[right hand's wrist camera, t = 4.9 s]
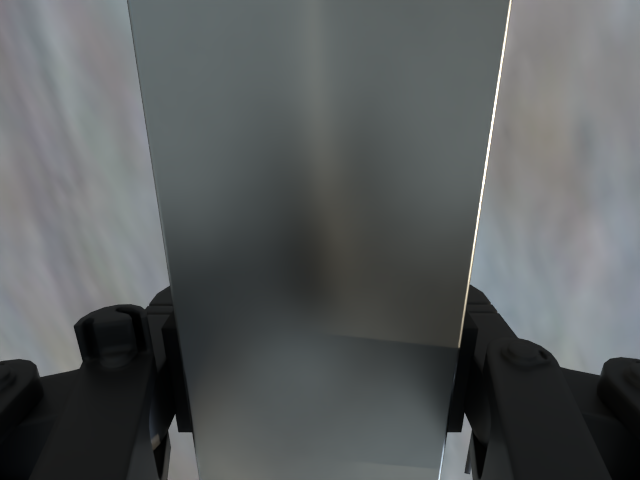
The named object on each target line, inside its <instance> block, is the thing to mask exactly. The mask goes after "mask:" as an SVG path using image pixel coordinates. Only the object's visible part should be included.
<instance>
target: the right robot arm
mask: <svg viewBox="0 0 640 480" xmlns="http://www.w3.org/2000/svg"><path fill="white" fill-rule="evenodd" d="M74 329H75V333H76V337H77V341H78V345H79V349H80V353H81V356H82V360H83V362H82V365H81V367H80V369H77V370H73V371H69V372H64V373H59V374H54V375H49V376H44V377H40V376H39V373H38V369H37V366H36V365H35V364H34V363H33V362H31V361H29V360H22V359H16V360H7V361H1V362H0V480H167V478H168V469H169V460H170V451H171V445H170V439H169V433H168V429H169V427H170V425H171V422H172V420H173V418H174V415H175V414H176V420H177V426H178V432H192V427H191V421H190V414H189V407H188V401H187V394H186V387H185V381H184V374H183V368H182V361H181V354H180V348H179V341H178V334H177V328H176V321H175V315H174V308H173V301H172V295H171V288H170V286H169V287H167V288H166V289H164V290H162V291H161V292H159V293H158V294H157V295H156V296H155V297H154V299H153V300H152V301H151V302H150V304H149V306H147V308H146V309H143V308H142V307H141V306H136V305H132V304H124V305H114V306H109V307H104V308H101V309H99V310H96V311H93V312H91V313H89V314H88V315H86V316H84V317H83V318H81V319H80V320H79V321H78V322H77V323H76V324H75V325H74ZM464 413H465V414H466V416H467V419H468V421H469V423H470V425H471V428H472V433H471V439H470V444H469V450H468V455H467V461H466V467H465V473H467V474H470V471H471V468H472V477H473V480H640V360H639V359H632V358H623V357H619V358H612V359H609V360H608V361H607V362H605V363H604V365H603V368H602V371H601V375H595V374H590V373H585V372H580V371H575V370H570V369H566V368H562V367H560V366H559V364H558V362H557V360H556V359H555V358H554V356H553V355H552V354H551V353H550V352H549V351H547V350H546V349H544V348H543V347H542V346H540V345H537V344H535V343H533V342H530V341H528V340H524V339H519V338H518V337H517V336H516V335H515V334H514V332H513V331H512V330H511V328H510V327H509V326H508V324H507V323H506V322H505V321H504V319H503V318H502V317H501V315H500V314H499V313H497V310H496V309H495V308H494V306H493V305H491V302H490V301H489V300H488V299H487V297H486V296H485V295H484V293H483V292H481V291H480V290H478V289H477V288H475V287H473V286H472V285H469V291H468V298H467V305H466V311H465V318H464V324H463V331H462V338H461V344H460V351H459V358H458V364H457V371H456V378H455V384H454V391H453V397H452V404H451V411H450V417H449V424H448V431H447V432H461V431H462V425H463V419H464Z"/></svg>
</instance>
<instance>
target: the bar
mask: <svg viewBox="0 0 640 480" xmlns="http://www.w3.org/2000/svg"><path fill="white" fill-rule="evenodd" d="M127 3H128V10H129V17H130V23H131V30H132V36H133V43H134V50H135V56H136V63H137V70H138V76H139V83H140V89H141V96H142V103H143V109H144V116H145V123H146V129H147V136H148V142H149V149H150V156H151V162H152V169H153V176H154V182H155V189H156V195H157V202H158V209H159V215H160V222H161V228H162V235H163V242H164V248H165V255H166V262H167V268H168V275H169V281H170V288H171V295H172V301H173V308H174V315H175V321H176V328H177V334H178V341H179V348H180V354H181V361H182V368H183V374H184V381H185V387H186V394H187V401H188V407H189V414H190V421H191V427H192V434H193V440H194V447H195V454H196V460H197V467H198V474H199V480H440V477H441V471H442V464H443V457H444V451H445V444H446V437H447V431H448V424H449V417H450V411H451V404H452V397H453V391H454V384H455V378H456V371H457V364H458V358H459V351H460V344H461V338H462V331H463V324H464V318H465V311H466V305H467V298H468V291H469V285H470V278H471V271H472V265H473V258H474V251H475V245H476V238H477V231H478V225H479V218H480V212H481V205H482V198H483V192H484V185H485V178H486V172H487V165H488V158H489V152H490V145H491V139H492V132H493V125H494V119H495V112H496V105H497V99H498V92H499V85H500V79H501V72H502V65H503V59H504V52H505V46H506V39H507V32H508V26H509V19H510V12H511V6H512V0H127Z"/></svg>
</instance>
